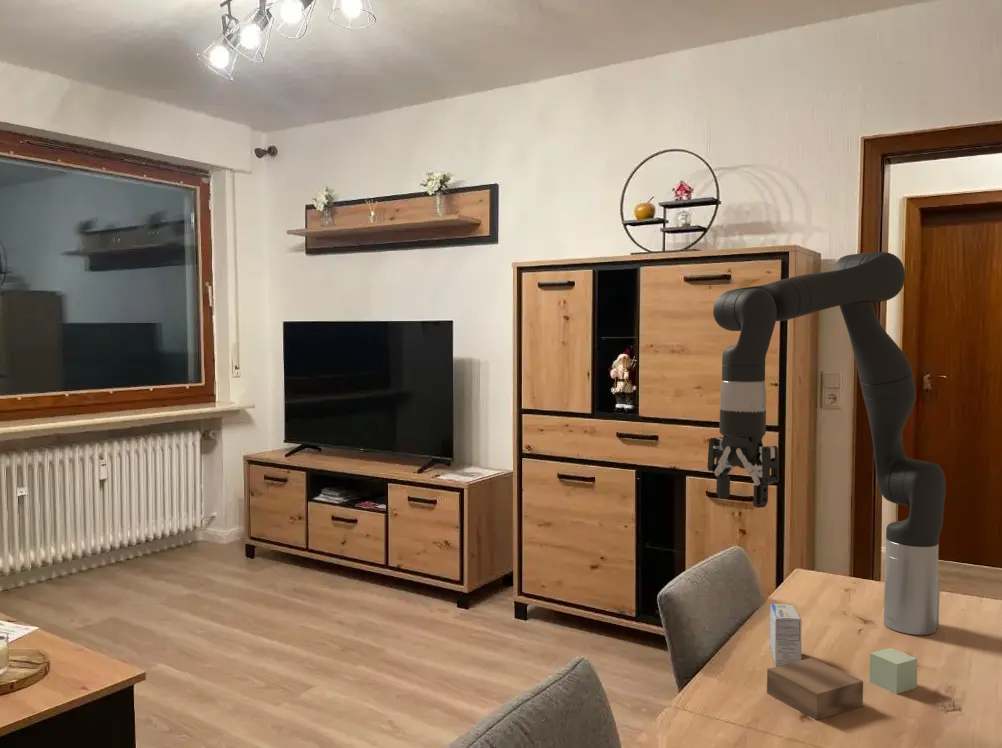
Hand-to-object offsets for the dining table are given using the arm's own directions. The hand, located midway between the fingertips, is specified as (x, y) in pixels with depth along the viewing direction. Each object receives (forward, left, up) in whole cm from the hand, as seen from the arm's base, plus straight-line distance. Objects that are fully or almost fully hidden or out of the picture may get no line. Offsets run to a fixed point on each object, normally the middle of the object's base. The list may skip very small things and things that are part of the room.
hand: (741, 502), depth 136 cm
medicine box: (-11, 0, -29) cm, 31 cm away
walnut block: (-3, +14, -29) cm, 32 cm away
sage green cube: (-19, +16, -29) cm, 38 cm away
